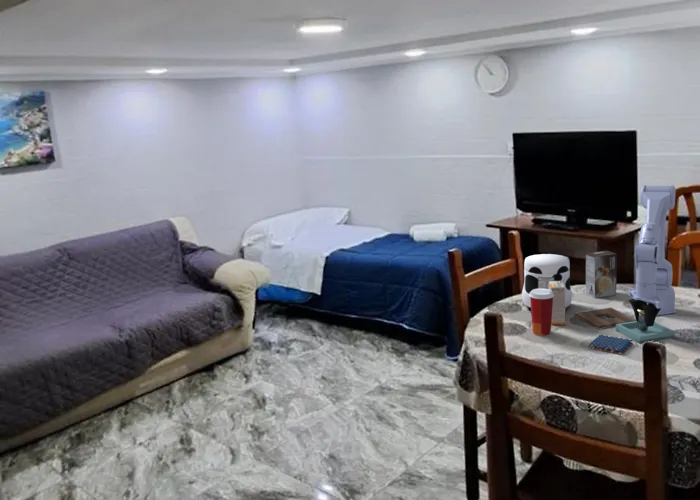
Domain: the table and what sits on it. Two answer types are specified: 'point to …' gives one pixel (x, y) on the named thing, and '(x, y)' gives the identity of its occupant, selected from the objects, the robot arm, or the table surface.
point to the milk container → (545, 275)
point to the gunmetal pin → (641, 320)
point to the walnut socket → (614, 319)
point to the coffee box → (601, 273)
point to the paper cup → (541, 311)
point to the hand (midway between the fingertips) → (644, 323)
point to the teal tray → (644, 332)
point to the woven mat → (610, 344)
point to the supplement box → (558, 302)
